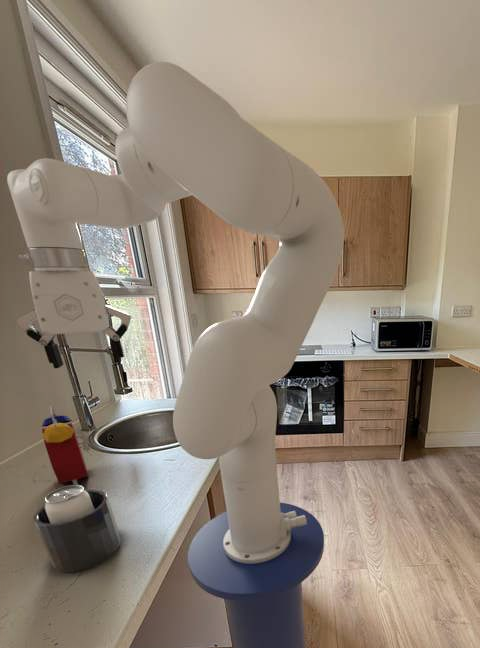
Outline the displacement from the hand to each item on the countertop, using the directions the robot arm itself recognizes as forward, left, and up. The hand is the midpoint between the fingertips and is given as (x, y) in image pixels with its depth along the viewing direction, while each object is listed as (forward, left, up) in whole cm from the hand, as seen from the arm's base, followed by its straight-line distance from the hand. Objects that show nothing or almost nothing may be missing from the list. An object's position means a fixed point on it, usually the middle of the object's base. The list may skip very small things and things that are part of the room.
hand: (89, 364), depth 65 cm
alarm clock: (+14, -21, -32) cm, 41 cm away
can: (+6, +12, -32) cm, 35 cm away
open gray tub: (+6, +12, -32) cm, 35 cm away
